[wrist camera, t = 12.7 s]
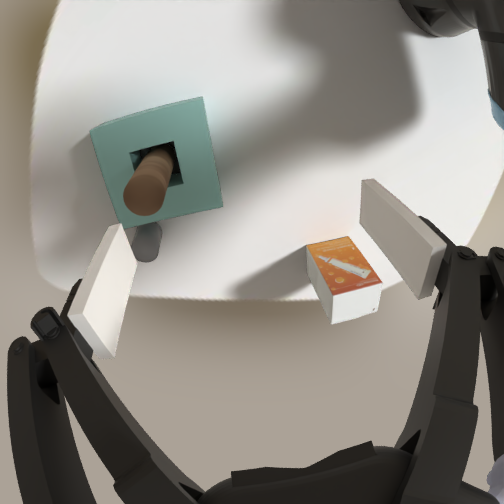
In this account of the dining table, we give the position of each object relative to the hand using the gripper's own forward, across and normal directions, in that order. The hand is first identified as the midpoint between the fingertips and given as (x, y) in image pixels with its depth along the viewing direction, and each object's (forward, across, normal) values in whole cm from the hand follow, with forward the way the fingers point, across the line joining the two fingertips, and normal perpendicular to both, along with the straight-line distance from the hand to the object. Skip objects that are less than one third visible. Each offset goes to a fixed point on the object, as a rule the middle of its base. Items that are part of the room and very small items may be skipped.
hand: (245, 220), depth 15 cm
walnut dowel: (+26, -9, -2) cm, 27 cm away
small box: (+27, +14, -24) cm, 39 cm away
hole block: (+26, -9, -2) cm, 27 cm away
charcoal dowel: (+26, -14, -13) cm, 32 cm away
